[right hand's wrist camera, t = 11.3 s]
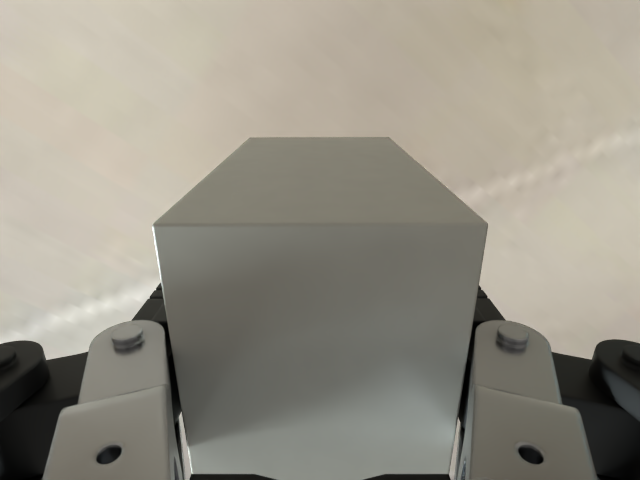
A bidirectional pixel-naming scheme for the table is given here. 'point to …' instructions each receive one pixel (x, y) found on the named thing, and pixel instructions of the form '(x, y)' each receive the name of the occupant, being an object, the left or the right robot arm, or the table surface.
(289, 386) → the bar
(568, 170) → the table surface
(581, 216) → the table surface
